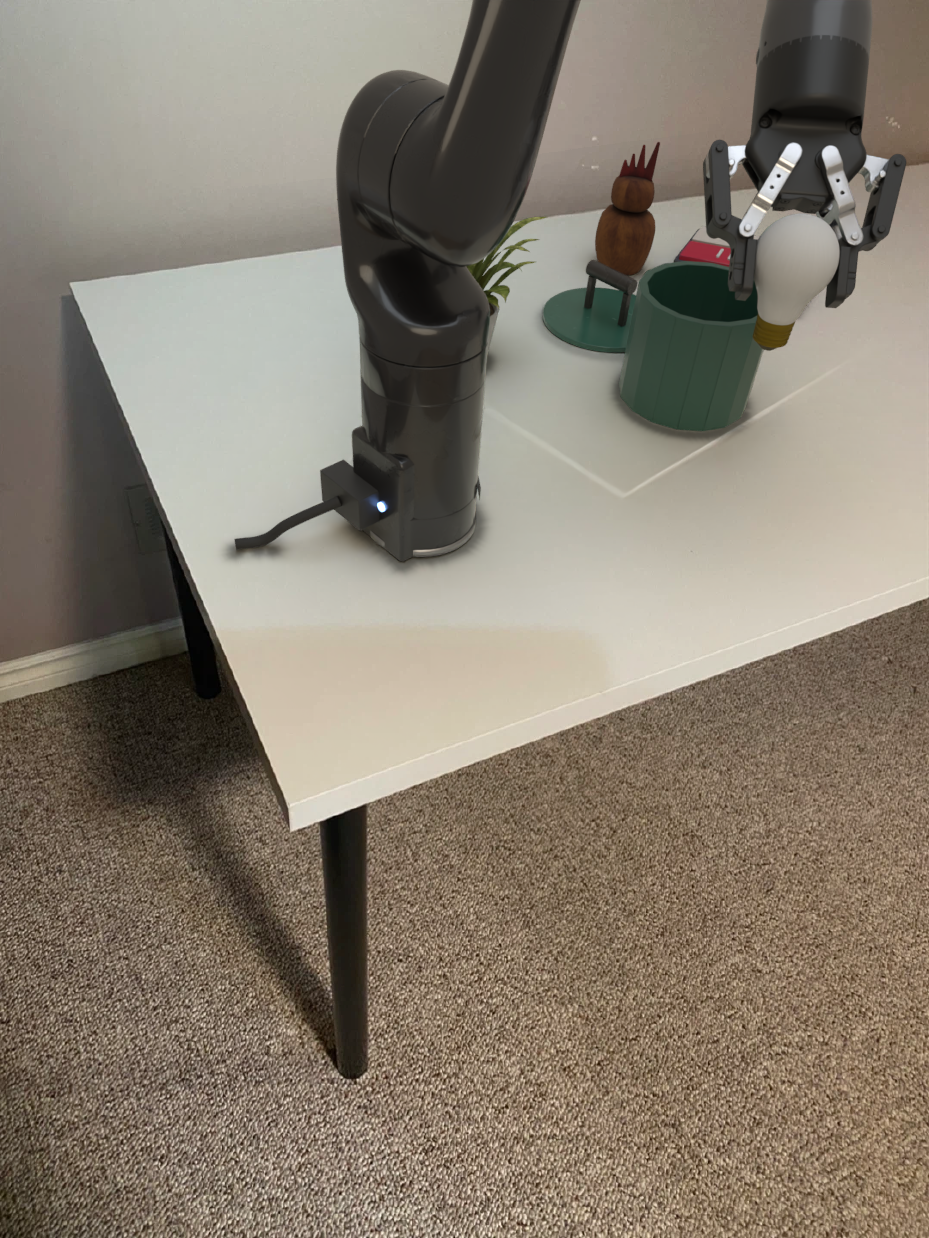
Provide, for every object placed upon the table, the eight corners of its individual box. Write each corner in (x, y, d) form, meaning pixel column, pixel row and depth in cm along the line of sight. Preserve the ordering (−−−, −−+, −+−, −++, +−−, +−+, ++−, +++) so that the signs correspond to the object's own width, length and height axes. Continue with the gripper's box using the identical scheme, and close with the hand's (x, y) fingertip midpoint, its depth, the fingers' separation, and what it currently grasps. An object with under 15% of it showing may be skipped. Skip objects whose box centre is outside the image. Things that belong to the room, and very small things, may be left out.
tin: (692, 451, 87) (722, 340, 79) (593, 393, 93) (611, 285, 85) (768, 405, 93) (804, 298, 85) (671, 354, 100) (695, 249, 91)
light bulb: (808, 374, 68) (855, 241, 61) (727, 362, 69) (764, 229, 61) (804, 335, 72) (848, 205, 65) (728, 324, 73) (763, 194, 65)
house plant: (568, 366, 97) (591, 208, 85) (479, 417, 89) (491, 251, 78) (468, 316, 103) (477, 163, 91) (378, 360, 96) (375, 199, 84)
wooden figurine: (653, 270, 114) (680, 140, 103) (633, 287, 110) (659, 155, 99) (604, 255, 116) (625, 126, 105) (583, 271, 112) (603, 140, 102)
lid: (608, 371, 96) (619, 313, 92) (516, 320, 103) (522, 263, 98) (689, 332, 103) (702, 276, 99) (597, 286, 110) (606, 231, 105)
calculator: (699, 221, 116) (821, 243, 111) (693, 255, 119) (812, 278, 114) (673, 254, 109) (802, 279, 104) (667, 289, 112) (792, 315, 107)
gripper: (724, 22, 62) (700, 274, 62) (940, 39, 61) (915, 292, 62) (698, 85, 69) (677, 309, 70) (890, 100, 69) (868, 325, 69)
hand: (789, 300), depth 66 cm, fingers closed on light bulb, 6 cm apart
